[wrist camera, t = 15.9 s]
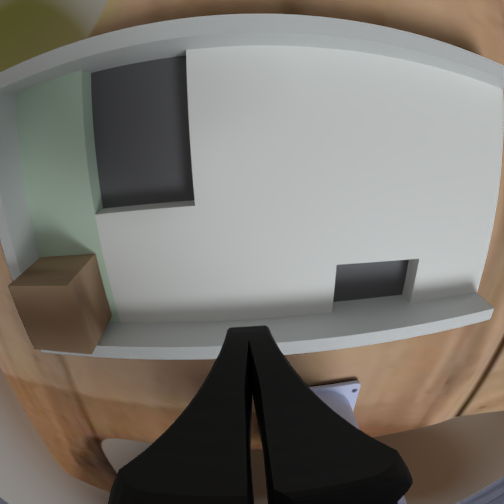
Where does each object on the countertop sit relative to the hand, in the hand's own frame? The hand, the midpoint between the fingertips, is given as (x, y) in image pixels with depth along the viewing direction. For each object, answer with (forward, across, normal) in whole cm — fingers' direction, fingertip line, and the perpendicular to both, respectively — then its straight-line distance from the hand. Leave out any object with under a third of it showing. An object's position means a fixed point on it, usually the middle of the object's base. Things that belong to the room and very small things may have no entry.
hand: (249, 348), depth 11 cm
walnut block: (+8, +11, +1) cm, 14 cm away
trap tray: (+9, -2, -4) cm, 10 cm away
